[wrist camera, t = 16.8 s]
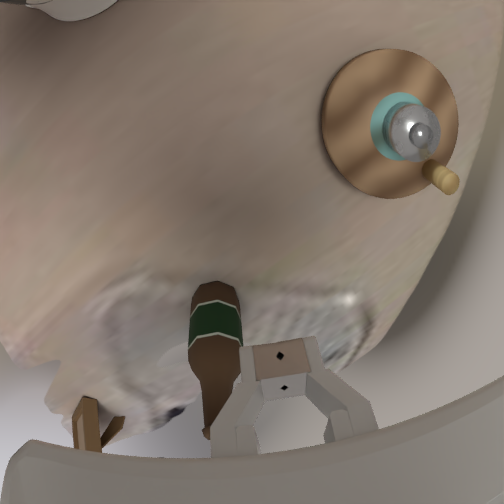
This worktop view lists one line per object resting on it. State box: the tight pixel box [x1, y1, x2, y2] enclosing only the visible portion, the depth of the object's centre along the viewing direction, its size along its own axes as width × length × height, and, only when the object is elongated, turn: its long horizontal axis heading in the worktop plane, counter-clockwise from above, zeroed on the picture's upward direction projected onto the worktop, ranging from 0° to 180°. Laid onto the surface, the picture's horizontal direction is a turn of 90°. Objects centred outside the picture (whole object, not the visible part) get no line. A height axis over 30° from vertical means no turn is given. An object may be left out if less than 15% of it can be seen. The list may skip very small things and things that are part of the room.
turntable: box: [322, 49, 459, 199], centre depth 30 cm, size 20×20×7 cm
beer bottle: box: [188, 281, 243, 440], centre depth 39 cm, size 8×8×24 cm
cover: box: [382, 101, 441, 162], centre depth 30 cm, size 7×7×4 cm
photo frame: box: [72, 397, 125, 453], centre depth 65 cm, size 15×22×25 cm
